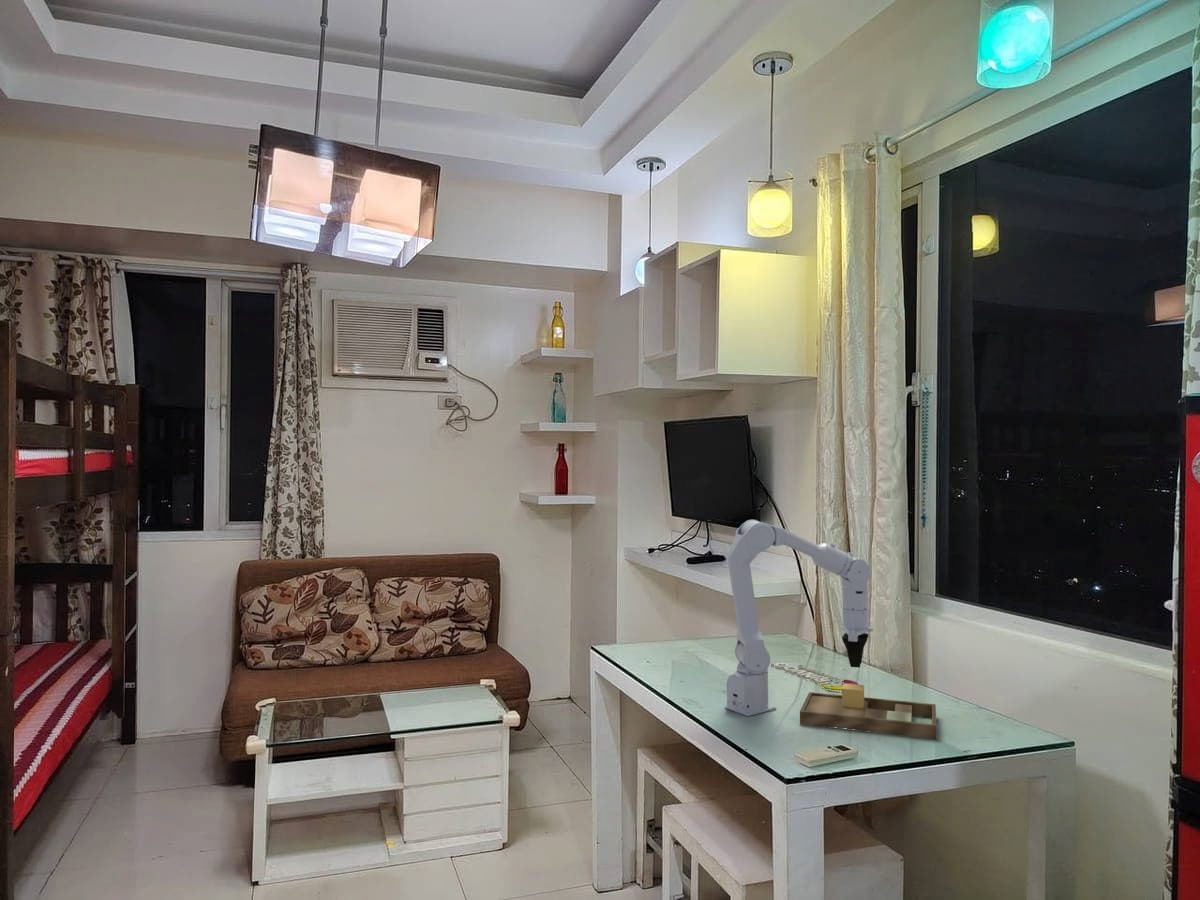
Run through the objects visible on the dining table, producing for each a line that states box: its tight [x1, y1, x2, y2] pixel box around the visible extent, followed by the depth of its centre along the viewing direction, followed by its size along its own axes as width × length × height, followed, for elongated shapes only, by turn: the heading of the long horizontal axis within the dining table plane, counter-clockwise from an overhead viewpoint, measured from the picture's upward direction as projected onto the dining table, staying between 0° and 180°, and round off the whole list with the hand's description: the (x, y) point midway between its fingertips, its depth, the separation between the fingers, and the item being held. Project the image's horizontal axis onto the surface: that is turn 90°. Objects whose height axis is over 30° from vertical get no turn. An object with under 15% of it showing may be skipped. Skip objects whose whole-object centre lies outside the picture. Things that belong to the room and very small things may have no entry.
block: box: [841, 683, 865, 708], centre depth 188 cm, size 4×4×4 cm
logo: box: [770, 662, 860, 691], centre depth 219 cm, size 29×1×10 cm
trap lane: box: [799, 691, 938, 740], centre depth 184 cm, size 28×16×3 cm, turn 68°
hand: (855, 665), depth 195 cm, fingers closed
